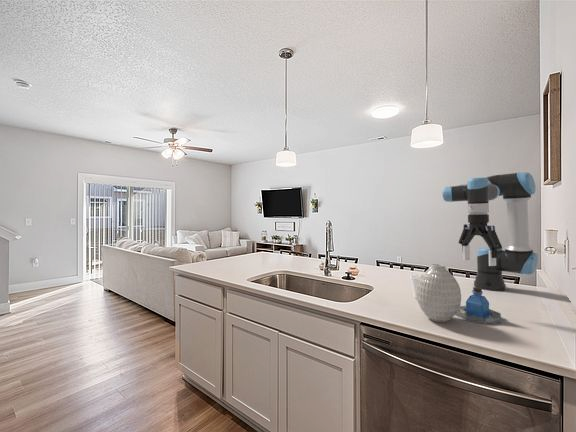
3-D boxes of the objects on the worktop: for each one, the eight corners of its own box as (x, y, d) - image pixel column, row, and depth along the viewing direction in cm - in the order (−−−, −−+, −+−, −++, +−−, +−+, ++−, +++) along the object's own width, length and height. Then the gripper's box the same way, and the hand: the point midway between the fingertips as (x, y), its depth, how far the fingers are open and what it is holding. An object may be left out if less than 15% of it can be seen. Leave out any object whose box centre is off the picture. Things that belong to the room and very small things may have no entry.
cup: (434, 301, 136) (433, 279, 136) (412, 300, 138) (412, 278, 138) (428, 296, 146) (428, 275, 146) (408, 295, 148) (407, 274, 148)
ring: (478, 309, 125) (478, 303, 125) (510, 322, 110) (510, 315, 110) (447, 311, 123) (447, 304, 123) (475, 324, 108) (475, 317, 108)
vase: (466, 319, 114) (465, 264, 114) (454, 330, 103) (454, 270, 103) (424, 309, 126) (424, 260, 125) (410, 319, 114) (409, 265, 114)
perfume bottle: (482, 320, 112) (482, 290, 112) (466, 316, 117) (465, 287, 117) (489, 317, 116) (488, 288, 116) (472, 313, 121) (472, 285, 121)
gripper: (449, 213, 132) (450, 258, 132) (496, 214, 107) (496, 268, 108) (463, 213, 133) (464, 257, 134) (512, 213, 109) (513, 267, 109)
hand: (478, 262), depth 121 cm, fingers open, 13 cm apart
